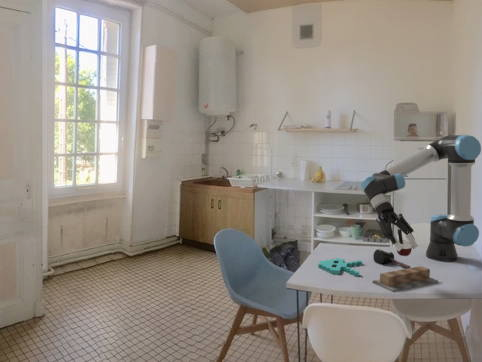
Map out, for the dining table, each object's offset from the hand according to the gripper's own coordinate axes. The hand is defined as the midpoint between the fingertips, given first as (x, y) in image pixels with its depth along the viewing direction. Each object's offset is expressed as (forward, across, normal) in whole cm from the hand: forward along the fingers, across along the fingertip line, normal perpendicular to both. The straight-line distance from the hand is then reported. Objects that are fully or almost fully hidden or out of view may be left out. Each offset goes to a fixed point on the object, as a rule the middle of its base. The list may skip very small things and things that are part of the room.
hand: (408, 248), depth 172 cm
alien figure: (-11, +11, -35) cm, 38 cm away
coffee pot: (-5, -15, -29) cm, 33 cm away
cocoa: (0, -1, -5) cm, 5 cm away
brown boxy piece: (+9, -2, -14) cm, 17 cm away
